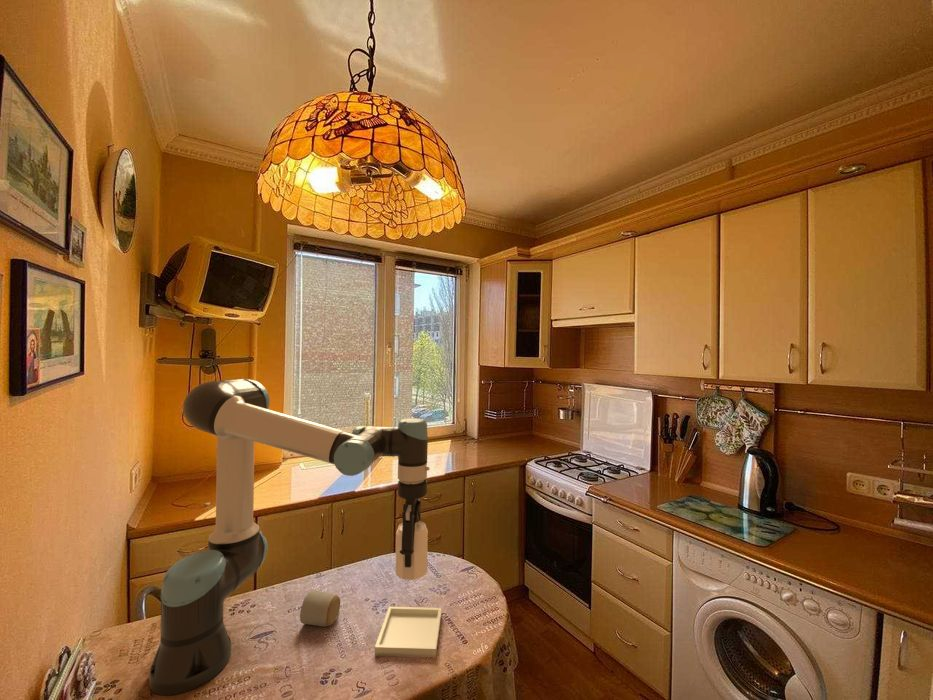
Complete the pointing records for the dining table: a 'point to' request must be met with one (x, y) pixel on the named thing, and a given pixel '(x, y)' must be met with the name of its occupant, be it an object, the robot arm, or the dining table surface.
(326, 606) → the ceramic mug
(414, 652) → the holder tray
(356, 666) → the dining table surface
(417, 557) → the beverage can
